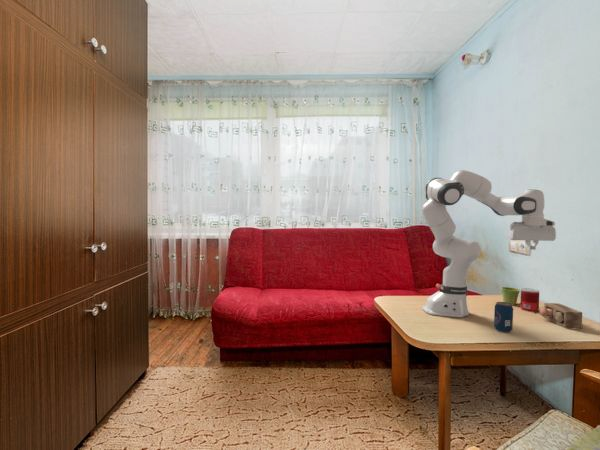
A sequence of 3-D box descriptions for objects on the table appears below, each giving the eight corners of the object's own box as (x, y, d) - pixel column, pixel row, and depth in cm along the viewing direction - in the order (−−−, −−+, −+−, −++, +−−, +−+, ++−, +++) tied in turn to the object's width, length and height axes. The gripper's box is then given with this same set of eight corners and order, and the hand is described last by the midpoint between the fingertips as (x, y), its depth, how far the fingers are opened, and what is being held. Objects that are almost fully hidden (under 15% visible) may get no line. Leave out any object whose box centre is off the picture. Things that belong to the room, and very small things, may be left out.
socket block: (565, 328, 141) (565, 311, 141) (543, 317, 155) (544, 303, 155) (581, 328, 140) (582, 312, 140) (558, 318, 154) (559, 303, 154)
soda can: (490, 326, 142) (491, 301, 141) (506, 327, 141) (507, 301, 141) (498, 332, 135) (499, 305, 134) (515, 333, 134) (516, 306, 134)
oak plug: (561, 323, 142) (562, 313, 142) (554, 319, 147) (555, 310, 147) (581, 324, 142) (581, 314, 141) (573, 320, 146) (574, 311, 146)
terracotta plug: (545, 317, 150) (545, 308, 149) (539, 314, 154) (539, 306, 154) (564, 318, 149) (564, 309, 149) (557, 315, 153) (558, 306, 153)
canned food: (541, 312, 163) (542, 292, 163) (524, 311, 165) (525, 291, 165) (533, 308, 171) (534, 288, 170) (517, 307, 172) (518, 287, 172)
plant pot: (500, 300, 186) (501, 286, 185) (519, 303, 180) (520, 288, 180) (499, 304, 178) (500, 289, 178) (519, 307, 173) (520, 291, 172)
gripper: (514, 221, 153) (513, 249, 154) (558, 222, 152) (557, 250, 152) (507, 221, 160) (506, 248, 160) (549, 222, 158) (548, 249, 158)
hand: (531, 249), depth 156 cm, fingers closed
